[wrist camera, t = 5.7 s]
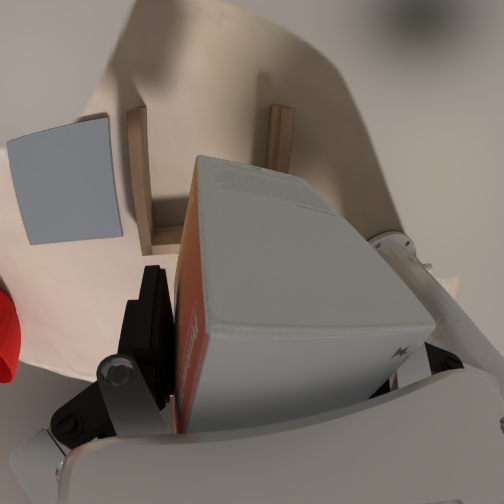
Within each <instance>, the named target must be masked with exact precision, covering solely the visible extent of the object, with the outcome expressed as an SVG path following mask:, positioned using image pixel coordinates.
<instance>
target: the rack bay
mask: <svg viewBox="0 0 504 504" xmlns="http://www.w3.org/2000/svg"><path fill="white" fill-rule="evenodd" d="M293 118H294V109H293V108H289V107H285V106H279V105H271V107H270V121H269V134H268V148H267V161H266V169H269V170H273V171H277V172H281V173H285V174H288V169H289V159H290V149H291V139H292V129H293ZM127 126H128V144H129V158H130V170H131V180H132V189H133V197H134V205H135V213H136V220H137V226H138V233H139V239H140V245H141V250H142V256H147V255H162V254H177V253H179V249H180V244H181V238H182V233H183V227H184V226H170V227H156V228H155V224H154V216H153V207H152V197H151V186H150V174H149V159H148V140H147V107H140V108H134V109H131V110H128V111H127Z"/></svg>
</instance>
